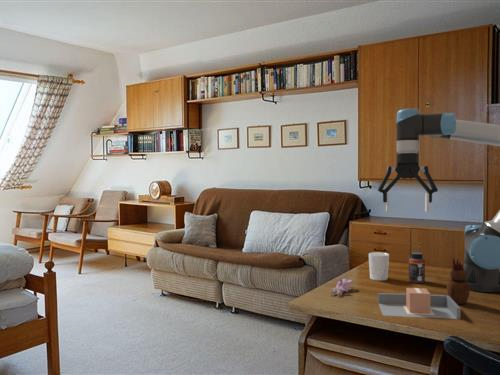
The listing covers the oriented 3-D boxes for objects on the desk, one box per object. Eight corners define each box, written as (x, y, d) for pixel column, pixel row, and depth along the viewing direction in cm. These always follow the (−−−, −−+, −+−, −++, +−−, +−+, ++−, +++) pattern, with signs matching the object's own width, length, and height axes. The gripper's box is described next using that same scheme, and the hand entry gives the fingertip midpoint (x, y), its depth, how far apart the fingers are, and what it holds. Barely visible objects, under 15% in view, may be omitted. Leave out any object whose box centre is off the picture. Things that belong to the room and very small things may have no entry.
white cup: (366, 276, 184) (366, 252, 183) (386, 276, 183) (386, 252, 183) (371, 281, 176) (371, 256, 175) (391, 281, 176) (391, 256, 175)
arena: (448, 306, 144) (448, 295, 144) (460, 319, 131) (460, 308, 131) (377, 303, 148) (378, 292, 148) (382, 316, 135) (383, 305, 135)
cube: (430, 313, 136) (430, 293, 136) (409, 312, 137) (409, 292, 137) (425, 307, 142) (425, 288, 142) (406, 306, 143) (406, 287, 143)
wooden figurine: (449, 305, 145) (450, 259, 144) (444, 299, 151) (445, 255, 150) (471, 305, 144) (472, 259, 143) (465, 300, 150) (466, 256, 149)
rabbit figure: (343, 302, 154) (357, 285, 166) (342, 286, 152) (356, 270, 165) (326, 299, 157) (341, 283, 169) (325, 284, 156) (340, 268, 168)
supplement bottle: (424, 284, 170) (424, 254, 170) (408, 282, 173) (408, 253, 172) (425, 280, 176) (425, 252, 175) (409, 279, 178) (409, 251, 178)
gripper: (441, 152, 162) (440, 210, 163) (370, 153, 166) (370, 210, 167) (447, 151, 154) (446, 213, 155) (372, 152, 158) (372, 212, 160)
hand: (407, 211), depth 161 cm, fingers open, 13 cm apart
